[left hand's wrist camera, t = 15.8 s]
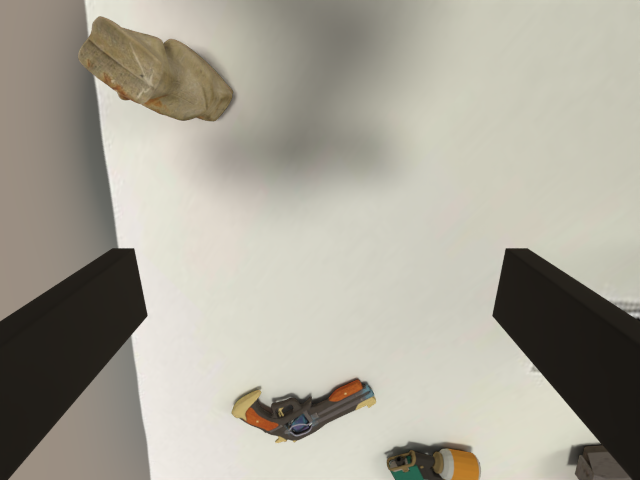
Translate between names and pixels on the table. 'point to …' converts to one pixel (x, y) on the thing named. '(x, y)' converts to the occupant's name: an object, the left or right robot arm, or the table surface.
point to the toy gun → (302, 411)
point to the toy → (599, 465)
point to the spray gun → (435, 466)
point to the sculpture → (154, 72)
